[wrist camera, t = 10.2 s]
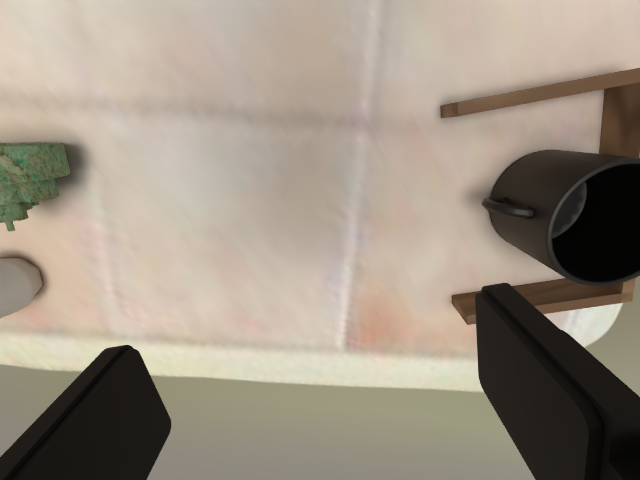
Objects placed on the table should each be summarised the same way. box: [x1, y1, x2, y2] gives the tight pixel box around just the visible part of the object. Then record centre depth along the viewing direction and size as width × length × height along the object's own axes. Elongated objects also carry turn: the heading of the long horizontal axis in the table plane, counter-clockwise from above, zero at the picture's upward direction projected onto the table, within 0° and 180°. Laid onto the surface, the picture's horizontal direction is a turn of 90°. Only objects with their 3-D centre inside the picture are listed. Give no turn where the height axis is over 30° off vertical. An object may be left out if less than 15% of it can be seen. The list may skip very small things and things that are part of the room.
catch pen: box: [441, 68, 640, 325], centre depth 30 cm, size 20×15×4 cm
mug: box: [482, 150, 640, 286], centre depth 27 cm, size 9×12×9 cm
